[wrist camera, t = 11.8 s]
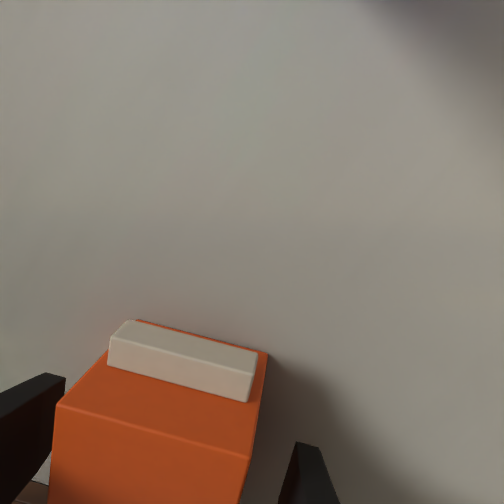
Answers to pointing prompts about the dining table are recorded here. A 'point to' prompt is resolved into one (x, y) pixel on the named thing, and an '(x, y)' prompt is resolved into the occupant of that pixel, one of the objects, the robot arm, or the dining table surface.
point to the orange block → (158, 421)
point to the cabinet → (32, 494)
